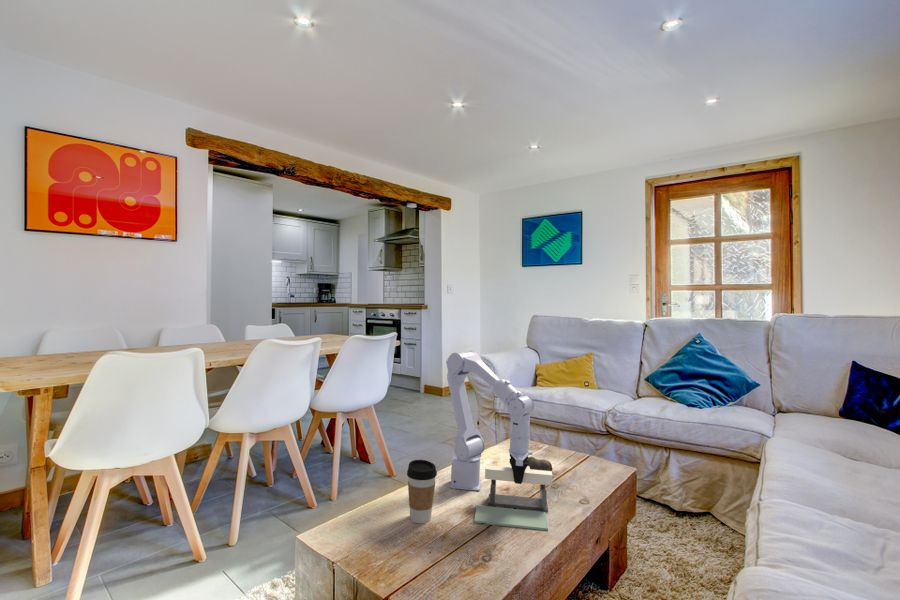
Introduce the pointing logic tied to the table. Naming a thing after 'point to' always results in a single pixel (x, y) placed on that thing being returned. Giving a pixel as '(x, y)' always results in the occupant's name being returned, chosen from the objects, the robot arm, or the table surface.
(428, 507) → the coffee cup
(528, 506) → the rack
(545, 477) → the rail
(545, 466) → the rhino figurine
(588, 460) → the table surface
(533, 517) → the mat
